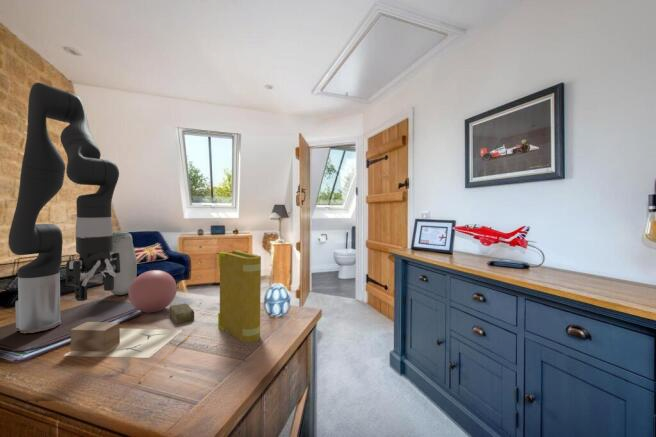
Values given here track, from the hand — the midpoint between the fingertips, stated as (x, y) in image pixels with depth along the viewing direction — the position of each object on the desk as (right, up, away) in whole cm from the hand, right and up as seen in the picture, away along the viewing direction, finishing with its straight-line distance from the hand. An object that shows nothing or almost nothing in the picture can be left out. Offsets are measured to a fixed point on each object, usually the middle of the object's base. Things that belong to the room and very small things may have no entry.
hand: (95, 295), depth 74 cm
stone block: (+11, -16, +22) cm, 29 cm away
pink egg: (-6, -15, +33) cm, 36 cm away
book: (+34, -16, +15) cm, 40 cm away
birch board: (+6, -16, +4) cm, 17 cm away
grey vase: (-30, -14, +50) cm, 60 cm away
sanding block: (0, -14, +1) cm, 14 cm away
